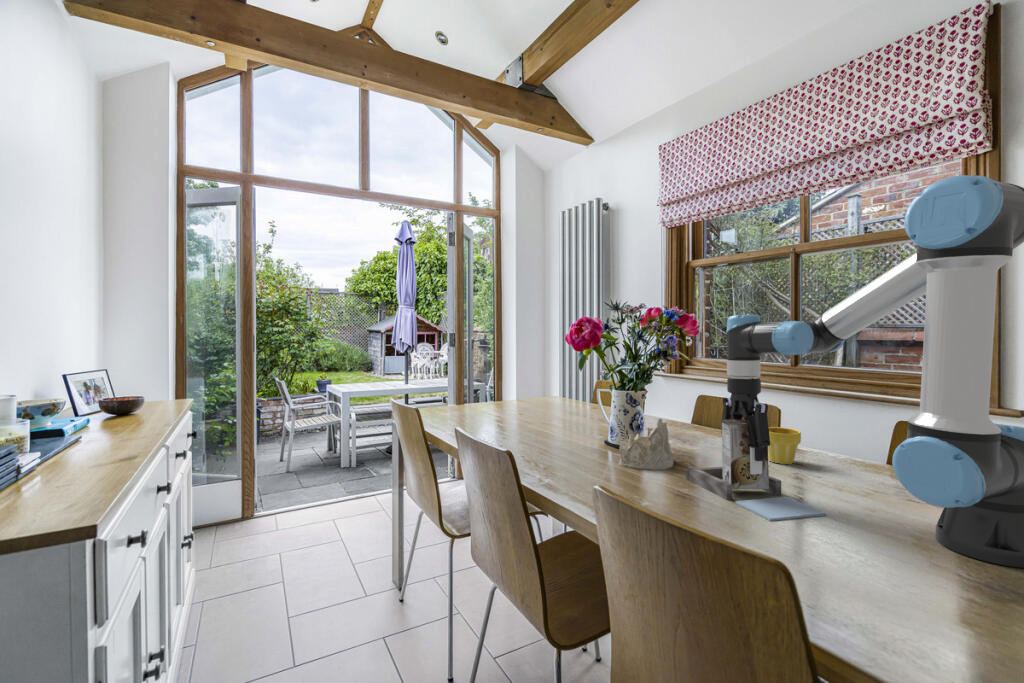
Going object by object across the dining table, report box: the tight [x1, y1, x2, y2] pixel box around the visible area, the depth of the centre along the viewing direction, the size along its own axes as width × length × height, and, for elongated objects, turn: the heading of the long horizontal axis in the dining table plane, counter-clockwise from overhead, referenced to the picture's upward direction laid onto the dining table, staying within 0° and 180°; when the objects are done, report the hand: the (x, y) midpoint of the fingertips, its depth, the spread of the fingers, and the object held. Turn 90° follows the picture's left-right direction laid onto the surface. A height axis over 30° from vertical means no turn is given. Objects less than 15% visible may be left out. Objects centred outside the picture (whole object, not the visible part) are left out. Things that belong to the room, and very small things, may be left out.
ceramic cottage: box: [618, 418, 675, 470], centre depth 149 cm, size 16×16×15 cm
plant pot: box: [768, 426, 802, 465], centre depth 148 cm, size 10×10×10 cm
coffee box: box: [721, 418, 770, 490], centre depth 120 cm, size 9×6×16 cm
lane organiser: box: [685, 465, 782, 501], centre depth 125 cm, size 18×15×4 cm
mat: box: [735, 496, 827, 522], centre depth 108 cm, size 11×14×1 cm
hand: (744, 469), depth 120 cm, fingers closed on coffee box, 7 cm apart
